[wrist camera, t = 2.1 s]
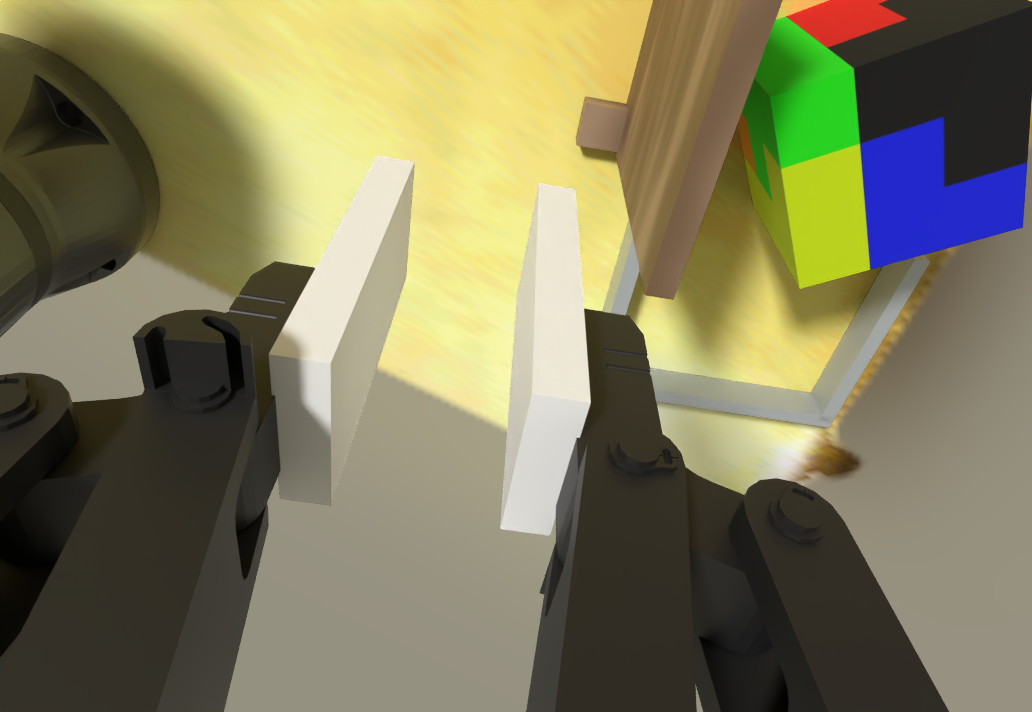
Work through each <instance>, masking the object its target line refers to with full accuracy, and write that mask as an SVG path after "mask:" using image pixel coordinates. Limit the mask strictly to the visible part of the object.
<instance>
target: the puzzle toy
mask: <svg viewBox="0 0 1032 712" xmlns="http://www.w3.org/2000/svg"><path fill="white" fill-rule="evenodd" d="M1031 100H1032V2H1031V1H1028V0H829V1H826V2H824V3H821V4H818V5H816V6H813V7H810V8H808V9H805V10H802V11H800V12H797V13H794V14H792V15H789V16H786V17H784V18H781V19H778V20H776V21H775V22H774V25H773V28H772V30H771V33H770V36H769V39H768V41H767V44H766V47H765V50H764V52H763V55H762V58H761V61H760V63H759V66H758V69H757V72H756V74H755V77H754V80H753V83H752V85H751V88H750V91H749V94H748V96H747V99H746V102H745V105H744V107H743V110H742V113H741V116H740V118H739V121H738V128H739V133H740V138H741V144H742V149H743V155H744V160H745V165H746V171H747V176H748V181H749V187H750V192H751V197H752V203H753V205H754V207H755V209H756V211H757V213H758V214H759V216H760V218H761V220H762V222H763V223H764V225H765V227H766V229H767V231H768V233H769V234H770V236H771V238H772V240H773V242H774V243H775V245H776V247H777V249H778V251H779V252H780V254H781V256H782V258H783V260H784V262H785V263H786V265H787V267H788V269H789V271H790V272H791V274H792V276H793V278H794V280H795V281H796V283H797V285H798V287H799V289H802V288H805V287H809V286H813V285H816V284H820V283H824V282H827V281H831V280H834V279H838V278H842V277H845V276H849V275H853V274H856V273H860V272H863V271H867V270H871V269H874V268H878V267H882V266H885V265H889V264H892V263H896V262H900V261H903V260H907V259H910V258H914V257H918V256H921V255H925V254H929V253H932V252H936V251H939V250H943V249H947V248H950V247H954V246H958V245H961V244H965V243H968V242H972V241H976V240H979V239H983V238H986V237H990V236H994V235H997V234H1001V233H1004V232H1008V231H1011V230H1016V229H1019V228H1023V217H1024V202H1025V187H1026V173H1027V158H1028V144H1029V129H1030V115H1031Z"/></svg>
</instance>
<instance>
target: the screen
mask: <svg viewBox="0 0 1032 712" xmlns="http://www.w3.org/2000/svg"><path fill="white" fill-rule="evenodd" d="M781 3H782V0H653V4H652V7H651V11H650V15H649V19H648V23H647V27H646V31H645V35H644V38H643V42H642V46H641V50H640V54H639V58H638V62H637V66H636V69H635V73H634V77H633V81H632V85H631V89H630V93H629V96H628V100H627V104H624V103H618V102H613V101H607V100H601V99H596V98H590V97H585V99H584V104H583V108H582V113H581V118H580V122H579V127H578V131H577V136H576V144H577V145H578V146H583V147H589V148H595V149H600V150H606V151H612V152H615V154H616V159H617V163H618V168H619V173H620V178H621V183H622V188H623V192H624V197H625V202H626V207H627V212H628V217H629V221H630V226H631V231H632V236H633V241H634V246H635V250H636V255H637V260H638V265H639V270H640V275H641V279H642V284H643V289H644V294H645V295H647V296H654V297H660V298H666V299H672V300H674V297H675V294H676V292H677V289H678V286H679V283H680V281H681V278H682V275H683V272H684V270H685V267H686V264H687V261H688V259H689V256H690V253H691V250H692V248H693V245H694V242H695V239H696V237H697V234H698V231H699V228H700V226H701V223H702V220H703V217H704V215H705V212H706V209H707V206H708V204H709V201H710V198H711V195H712V193H713V190H714V187H715V184H716V182H717V179H718V176H719V173H720V171H721V168H722V165H723V162H724V160H725V157H726V154H727V151H728V149H729V146H730V143H731V140H732V138H733V135H734V132H735V129H736V127H737V124H738V121H739V118H740V116H741V113H742V110H743V107H744V105H745V102H746V99H747V96H748V94H749V91H750V88H751V85H752V83H753V80H754V77H755V74H756V72H757V69H758V66H759V63H760V61H761V58H762V55H763V52H764V50H765V47H766V44H767V41H768V39H769V36H770V33H771V30H772V28H773V25H774V22H775V19H776V17H777V14H778V11H779V8H780V6H781Z"/></svg>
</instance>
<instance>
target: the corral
mask: <svg viewBox="0 0 1032 712" xmlns="http://www.w3.org/2000/svg"><path fill="white" fill-rule="evenodd" d="M930 262H931V261H930V260H929V259H928V258H927V257H926V256H925V255H921V256H918V257H914V258H910V259H907V260H903V261H900V262H896V263H892V264H889V265H885V266H883V267H882V269H881V271H880V273H879V274H878V276H877V278H876V280H875V281H874V283H873V285H872V287H871V288H870V290H869V292H868V294H867V295H866V297H865V299H864V301H863V302H862V304H861V306H860V308H859V309H858V311H857V313H856V315H855V317H854V318H853V320H852V322H851V324H850V325H849V327H848V329H847V331H846V332H845V334H844V336H843V338H842V339H841V341H840V343H839V345H838V346H837V348H836V350H835V352H834V353H833V355H832V357H831V359H830V360H829V362H828V364H827V366H826V368H825V369H824V371H823V373H822V375H821V376H820V378H819V380H818V382H817V383H816V385H815V387H814V389H813V390H812V392H811V393H807V392H801V391H794V390H788V389H782V388H775V387H769V386H762V385H756V384H749V383H743V382H736V381H730V380H723V379H717V378H710V377H704V376H697V375H691V374H684V373H678V372H671V371H665V370H659V369H652V368H650V375H651V377H652V382H653V387H654V392H655V398H656V402H663V403H669V404H676V405H682V406H689V407H696V408H702V409H709V410H715V411H722V412H729V413H735V414H742V415H749V416H755V417H762V418H768V419H775V420H782V421H788V422H795V423H801V424H808V425H815V426H821V427H828V428H829V426H830V425H831V423H832V422H833V420H834V418H835V417H836V415H837V413H838V412H839V410H840V409H841V407H842V405H843V404H844V402H845V400H846V399H847V397H848V396H849V394H850V392H851V391H852V389H853V387H854V386H855V384H856V383H857V381H858V379H859V378H860V376H861V374H862V373H863V371H864V370H865V368H866V366H867V365H868V363H869V361H870V360H871V358H872V357H873V355H874V353H875V352H876V350H877V348H878V347H879V345H880V344H881V342H882V340H883V339H884V337H885V335H886V334H887V332H888V331H889V329H890V327H891V326H892V324H893V322H894V321H895V319H896V318H897V316H898V314H899V313H900V311H901V309H902V308H903V306H904V305H905V303H906V301H907V300H908V298H909V296H910V295H911V293H912V292H913V290H914V288H915V287H916V285H917V283H918V282H919V280H920V279H921V277H922V275H923V274H924V272H925V270H926V269H927V267H928V266H929V264H930ZM639 271H640V270H639V265H638V260H637V255H636V250H635V246H634V241H633V236H632V231H631V226H630V221H629V222H628V225H627V228H626V232H625V235H624V239H623V242H622V246H621V249H620V253H619V256H618V259H617V263H616V266H615V270H614V273H613V277H612V280H611V284H610V287H609V290H608V294H607V297H606V301H605V304H604V308H603V311H602V312H608V313H614V314H620V315H626V312H627V309H628V306H629V303H630V300H631V296H632V293H633V290H634V287H635V284H636V281H637V277H638V274H639Z"/></svg>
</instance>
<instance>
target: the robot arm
mask: <svg viewBox="0 0 1032 712" xmlns="http://www.w3.org/2000/svg"><path fill="white" fill-rule="evenodd" d="M414 163H415V162H413V161H407V160H402V159H396V158H390V157H384V156H378V155H377V156H376V158H375V160H374V161H373V163H372V165H371V167H370V169H369V171H368V172H367V174H366V176H365V178H364V180H363V182H362V184H361V185H360V187H359V189H358V191H357V193H356V195H355V196H354V198H353V200H352V202H351V204H350V206H349V207H348V209H347V211H346V213H345V215H344V217H343V218H342V220H341V222H340V224H339V226H338V228H337V229H336V231H335V233H334V235H333V237H332V239H331V241H330V242H329V244H328V246H327V248H326V250H325V252H324V253H323V255H322V257H321V259H320V261H319V263H318V264H317V266H316V268H313V267H306V266H300V265H294V264H287V263H281V262H273V263H272V264H270V265H268V266H267V267H265V268H263V269H262V270H260V271H258V272H257V273H255V274H253V275H252V276H251V277H250V279H249V280H248V282H247V283H246V285H245V286H244V288H243V289H242V291H241V292H240V295H239V297H237V298H236V299H235V301H234V302H233V304H232V305H231V307H230V310H229V312H227V313H222V312H217V311H212V310H184V311H179V312H175V313H171V314H167V315H163V316H161V317H159V318H157V319H155V320H153V321H151V322H149V323H147V324H145V325H144V326H143V327H142V328H141V329H140V330H139V331H138V332H137V333H136V334H135V335H134V336H133V340H134V345H135V349H136V354H137V358H138V362H139V366H140V371H141V375H142V380H143V384H144V389H145V390H144V392H143V394H142V395H139V396H134V397H128V398H121V399H109V400H96V401H85V402H84V401H83V402H72V400H71V397H70V394H69V392H68V391H67V390H66V388H65V387H64V386H63V384H62V383H61V382H60V381H58V380H55V379H53V378H50V377H48V376H45V375H42V374H31V373H14V374H6V375H0V712H224V708H225V704H226V699H227V696H228V691H229V688H230V683H231V679H232V675H233V671H234V667H235V662H236V658H237V654H238V650H239V645H240V642H241V638H242V633H243V629H244V625H245V621H246V617H247V613H248V609H249V603H250V600H251V596H252V592H253V588H254V583H255V579H256V575H257V571H258V567H259V563H260V559H261V554H262V550H263V546H264V542H265V538H266V534H267V530H268V506H267V501H268V499H269V496H270V494H271V491H272V489H273V487H274V484H275V482H276V480H277V477H278V482H279V495H280V499H285V500H292V501H301V502H308V503H314V504H322V505H329V506H331V505H332V502H333V500H334V497H335V493H336V490H337V487H338V484H339V481H340V478H341V475H342V472H343V469H344V466H345V463H346V459H347V457H348V454H349V451H350V448H351V444H352V441H353V438H354V435H355V432H356V429H357V426H358V423H359V420H360V417H361V414H362V411H363V408H364V405H365V402H366V399H367V396H368V392H369V389H370V386H371V383H372V380H373V377H374V374H375V371H376V368H377V365H378V362H379V359H380V356H381V353H382V350H383V347H384V343H385V340H386V337H387V334H388V331H389V328H390V325H391V322H392V319H393V316H394V313H395V310H396V307H397V304H398V301H399V298H400V294H401V291H402V288H403V285H404V282H405V279H406V272H407V259H408V245H409V231H410V218H411V204H412V191H413V177H414ZM158 212H159V188H158V182H157V177H156V173H155V170H154V166H153V163H152V161H151V158H150V156H149V153H148V151H147V149H146V147H145V145H144V143H143V141H142V139H141V137H140V136H139V134H138V132H137V130H136V129H135V127H134V126H133V124H132V123H131V121H130V120H129V119H128V117H127V116H126V115H125V113H124V112H123V111H122V110H121V109H120V107H119V106H118V105H117V104H116V103H115V102H114V100H113V99H112V98H111V97H110V96H109V95H108V94H107V93H106V92H105V91H104V90H103V89H102V88H101V87H100V86H99V85H97V84H96V83H95V82H94V81H93V80H92V79H91V78H89V77H88V76H87V75H85V74H84V73H83V72H82V71H80V70H79V69H77V68H76V67H75V66H73V65H72V64H70V63H69V62H67V61H66V60H64V59H62V58H61V57H59V56H57V55H56V54H54V53H52V52H50V51H48V50H46V49H44V48H42V47H40V46H38V45H36V44H33V43H31V42H28V41H26V40H23V39H20V38H17V37H14V36H10V35H6V34H2V33H0V337H1V336H2V335H3V334H4V333H5V332H6V331H7V330H8V329H10V328H11V327H12V326H13V325H14V324H15V323H16V322H17V321H18V320H19V319H20V318H21V317H22V316H23V315H24V314H25V313H26V312H27V311H28V310H30V309H31V308H32V307H33V306H34V305H35V304H37V302H39V301H40V300H43V299H46V298H48V297H52V296H54V295H57V294H60V293H63V292H66V291H69V290H71V289H74V288H77V287H80V286H83V285H86V284H88V283H91V282H95V281H97V280H99V279H102V278H105V277H107V276H109V275H110V274H112V273H114V272H115V271H117V270H118V269H120V268H121V267H122V266H124V265H125V264H126V263H127V262H128V261H129V260H130V259H131V258H132V257H133V256H134V255H135V254H136V253H137V252H138V251H139V250H140V249H141V248H142V247H143V246H144V245H145V243H146V242H147V241H148V239H149V238H150V236H151V234H152V232H153V230H154V228H155V225H156V222H157V217H158ZM555 517H556V544H555V546H554V550H553V553H552V556H551V559H550V562H549V565H548V568H547V572H546V575H545V578H544V581H543V584H542V587H541V590H540V593H541V594H544V600H543V607H542V613H541V619H540V626H539V632H538V639H537V645H536V652H535V658H534V665H533V671H532V678H531V684H530V690H529V697H528V704H527V710H526V712H697V711H696V689H695V683H696V687H697V691H698V694H699V698H700V701H701V705H702V708H703V712H949V711H948V709H947V707H946V705H945V704H944V702H943V700H942V698H941V696H940V695H939V693H938V691H937V689H936V687H935V685H934V684H933V682H932V680H931V678H930V676H929V674H928V673H927V671H926V669H925V667H924V665H923V664H922V662H921V660H920V658H919V656H918V654H917V653H916V651H915V649H914V647H913V645H912V644H911V642H910V640H909V638H908V636H907V635H906V633H905V631H904V629H903V627H902V625H901V624H900V622H899V620H898V618H897V616H896V615H895V613H894V611H893V609H892V607H891V606H890V604H889V602H888V600H887V599H886V596H885V595H884V593H883V591H882V589H881V587H880V586H879V584H878V582H877V580H876V578H875V577H874V575H873V573H872V571H871V570H870V568H869V566H868V564H867V562H866V560H865V558H864V557H863V555H862V553H861V551H860V549H859V548H858V546H857V544H856V542H855V540H854V539H853V537H852V535H851V533H850V531H849V529H848V528H847V526H846V524H845V522H844V521H843V519H842V518H841V517H840V515H839V514H838V513H837V511H836V510H835V509H834V507H833V506H832V505H831V504H830V503H828V502H827V501H826V500H825V499H823V498H822V497H821V496H820V495H818V494H817V493H816V492H814V491H812V490H810V489H808V488H806V487H804V486H802V485H800V484H798V483H796V482H791V481H786V480H781V479H777V478H776V479H767V480H760V481H758V482H757V483H755V484H754V485H752V486H751V487H749V488H748V490H747V491H746V493H745V495H743V494H740V493H738V492H735V491H733V490H730V489H728V488H725V487H723V486H720V485H718V484H715V483H713V482H710V481H708V480H706V479H704V478H702V477H700V476H698V475H696V474H695V473H693V472H692V471H690V470H689V469H687V468H686V467H685V464H684V461H683V457H682V454H681V452H680V451H679V450H678V449H677V447H676V446H675V445H674V444H673V442H672V441H671V440H670V439H669V438H667V437H666V436H664V435H663V434H662V430H661V424H660V419H659V414H658V408H657V403H656V398H655V392H654V387H653V382H652V377H651V375H650V366H649V361H648V359H647V350H646V345H645V339H644V335H643V333H642V332H641V331H640V330H639V328H638V327H637V326H636V324H635V323H634V322H633V321H632V319H631V318H630V317H629V316H627V315H620V314H614V313H608V312H602V311H595V310H589V309H584V302H583V288H582V274H581V260H580V246H579V233H578V219H577V205H576V191H575V189H571V188H565V187H559V186H553V185H548V184H542V183H539V185H538V190H537V195H536V200H535V205H534V210H533V216H532V221H531V226H530V231H529V236H528V241H527V246H526V252H525V257H524V262H523V267H522V272H521V277H520V283H519V288H518V293H517V303H516V317H515V331H514V345H513V359H512V373H511V387H510V401H509V415H508V429H507V443H506V457H505V471H504V485H503V499H502V514H501V527H500V529H505V530H513V531H521V532H527V533H535V534H542V535H550V533H551V530H552V527H553V523H554V520H555Z"/></svg>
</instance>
